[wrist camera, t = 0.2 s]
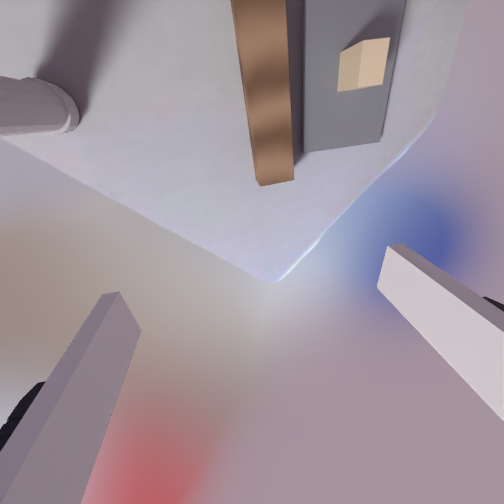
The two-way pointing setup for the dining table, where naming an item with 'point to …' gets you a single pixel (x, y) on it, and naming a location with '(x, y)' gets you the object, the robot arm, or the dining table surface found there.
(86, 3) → the dining table surface
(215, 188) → the dining table surface
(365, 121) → the board
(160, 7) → the dining table surface
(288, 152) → the walnut bar
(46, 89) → the white tall cylinder
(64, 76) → the dining table surface
